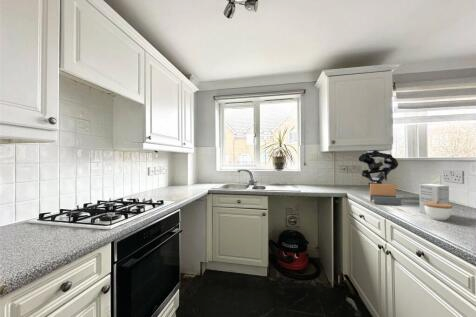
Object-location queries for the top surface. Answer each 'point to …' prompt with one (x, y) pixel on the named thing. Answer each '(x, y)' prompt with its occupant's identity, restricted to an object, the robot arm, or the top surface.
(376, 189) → the duct cover
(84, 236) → the top surface
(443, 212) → the lidded jar
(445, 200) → the supplement box
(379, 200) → the cable duct
